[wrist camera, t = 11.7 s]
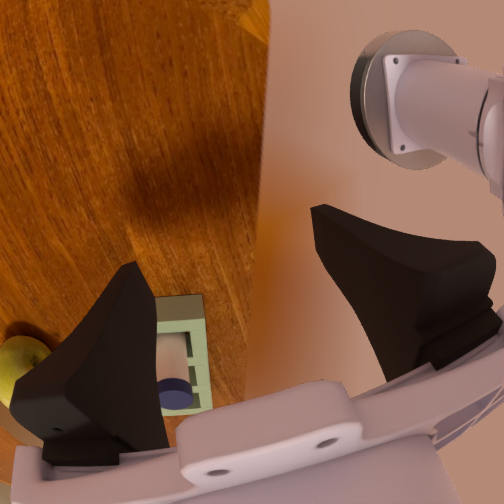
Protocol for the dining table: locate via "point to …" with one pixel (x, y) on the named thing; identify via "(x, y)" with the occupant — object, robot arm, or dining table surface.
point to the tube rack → (188, 345)
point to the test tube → (173, 371)
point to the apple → (18, 362)
